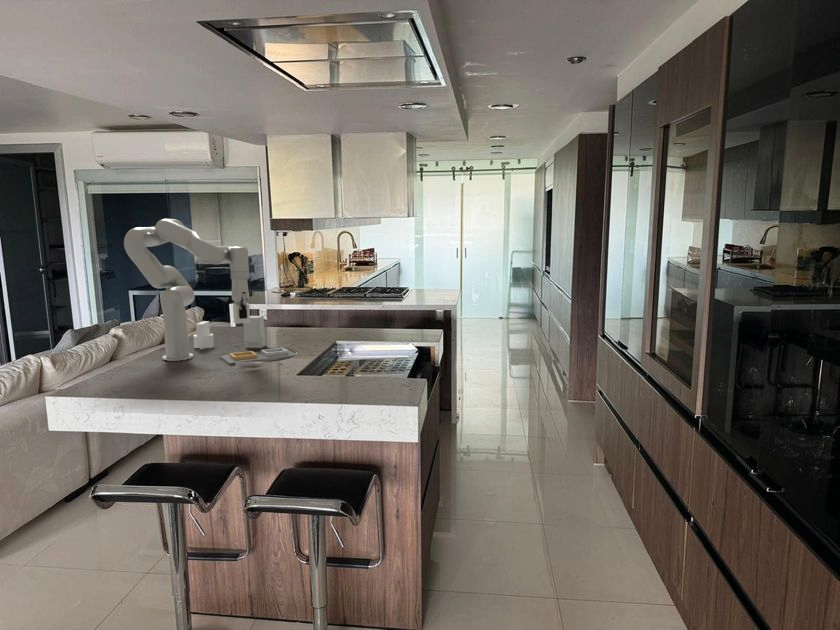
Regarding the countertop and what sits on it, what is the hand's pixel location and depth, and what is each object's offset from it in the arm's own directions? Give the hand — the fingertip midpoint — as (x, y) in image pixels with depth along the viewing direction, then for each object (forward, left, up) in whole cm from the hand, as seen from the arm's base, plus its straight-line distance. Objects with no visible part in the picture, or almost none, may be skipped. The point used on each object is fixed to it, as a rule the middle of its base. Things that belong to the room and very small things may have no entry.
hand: (241, 317), depth 248 cm
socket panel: (0, +7, -19) cm, 20 cm away
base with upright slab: (-36, -9, -19) cm, 42 cm away
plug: (0, 0, -2) cm, 2 cm away
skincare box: (-20, +11, -19) cm, 30 cm away
